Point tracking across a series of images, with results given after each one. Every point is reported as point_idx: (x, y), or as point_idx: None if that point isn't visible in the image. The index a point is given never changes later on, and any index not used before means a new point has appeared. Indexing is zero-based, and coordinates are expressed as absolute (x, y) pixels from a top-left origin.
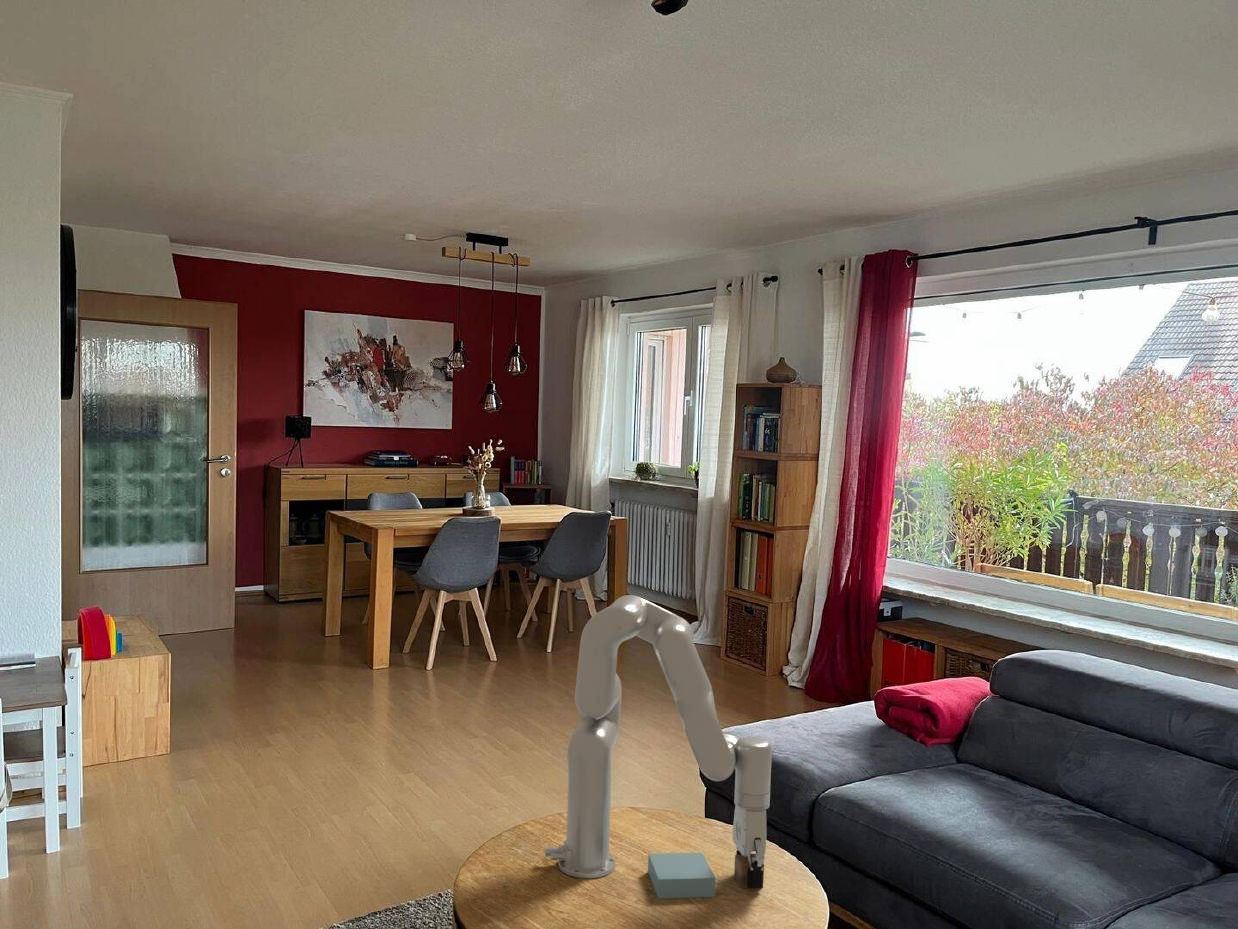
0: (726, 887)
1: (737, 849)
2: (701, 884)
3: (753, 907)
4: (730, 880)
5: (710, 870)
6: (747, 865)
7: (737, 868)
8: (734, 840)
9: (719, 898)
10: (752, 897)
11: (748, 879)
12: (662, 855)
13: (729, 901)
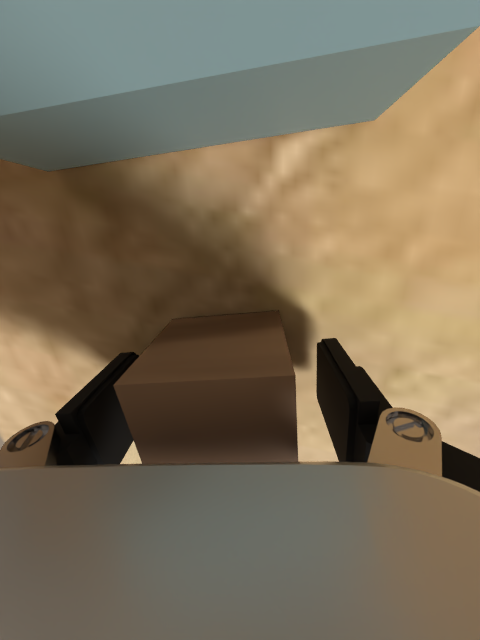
0: (181, 256)
1: (386, 412)
2: None
3: (31, 340)
4: (255, 288)
5: (31, 93)
6: (128, 420)
7: (221, 345)
8: (332, 504)
9: (59, 201)
10: (111, 351)
11: (100, 376)
12: None
13: (46, 249)
